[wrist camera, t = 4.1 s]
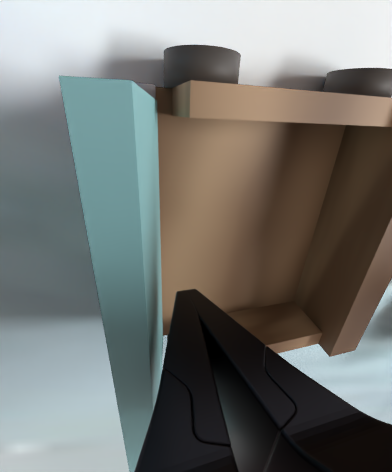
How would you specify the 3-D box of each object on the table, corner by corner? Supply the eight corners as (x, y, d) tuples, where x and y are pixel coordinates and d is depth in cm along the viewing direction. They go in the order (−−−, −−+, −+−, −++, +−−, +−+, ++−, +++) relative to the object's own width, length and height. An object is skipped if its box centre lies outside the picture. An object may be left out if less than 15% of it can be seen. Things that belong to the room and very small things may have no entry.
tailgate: (157, 86, 9) (129, 36, 3) (163, 338, 16) (157, 482, 10) (131, 84, 9) (50, 30, 3) (147, 339, 16) (131, 484, 9)
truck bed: (366, 80, 13) (500, 64, 9) (297, 305, 21) (348, 362, 16) (146, 56, 10) (169, 10, 6) (157, 331, 18) (171, 411, 13)
